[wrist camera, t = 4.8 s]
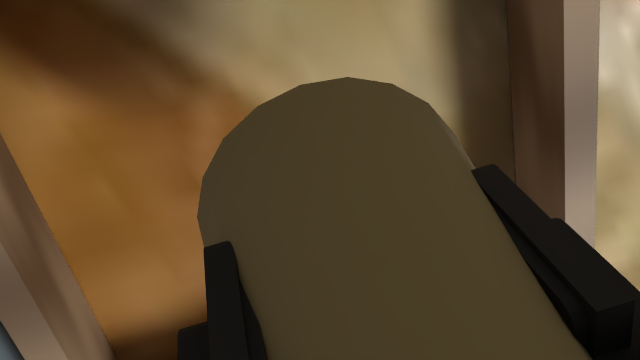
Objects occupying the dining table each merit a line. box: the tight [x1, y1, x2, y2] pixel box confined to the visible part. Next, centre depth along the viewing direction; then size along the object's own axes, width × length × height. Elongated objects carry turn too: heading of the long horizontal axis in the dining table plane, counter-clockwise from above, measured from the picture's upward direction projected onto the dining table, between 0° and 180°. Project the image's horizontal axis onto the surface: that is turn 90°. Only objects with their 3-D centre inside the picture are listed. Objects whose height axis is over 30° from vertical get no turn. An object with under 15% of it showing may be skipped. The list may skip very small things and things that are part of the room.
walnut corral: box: [0, 0, 600, 360], centre depth 17 cm, size 17×17×3 cm
